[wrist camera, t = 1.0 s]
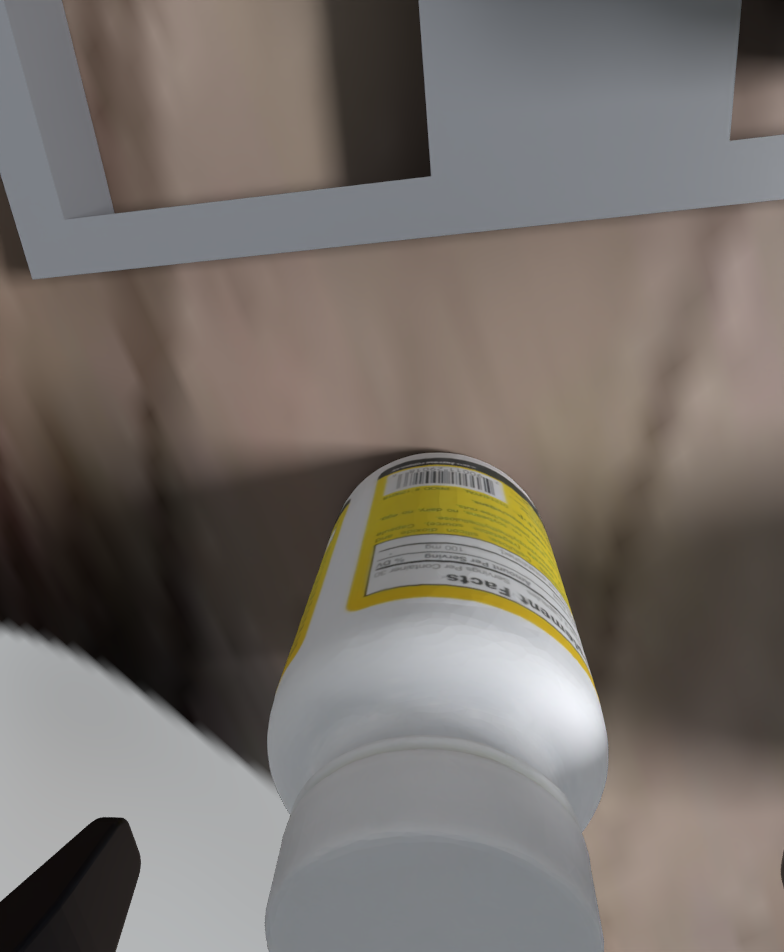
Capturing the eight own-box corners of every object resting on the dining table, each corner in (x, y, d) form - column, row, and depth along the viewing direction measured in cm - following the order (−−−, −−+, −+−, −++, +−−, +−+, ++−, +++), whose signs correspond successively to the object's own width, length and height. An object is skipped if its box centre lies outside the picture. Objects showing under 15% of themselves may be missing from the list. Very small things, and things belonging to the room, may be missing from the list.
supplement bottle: (423, 663, 18) (392, 1125, 9) (294, 525, 16) (101, 904, 7) (589, 564, 16) (762, 1009, 7) (461, 401, 15) (472, 697, 6)
